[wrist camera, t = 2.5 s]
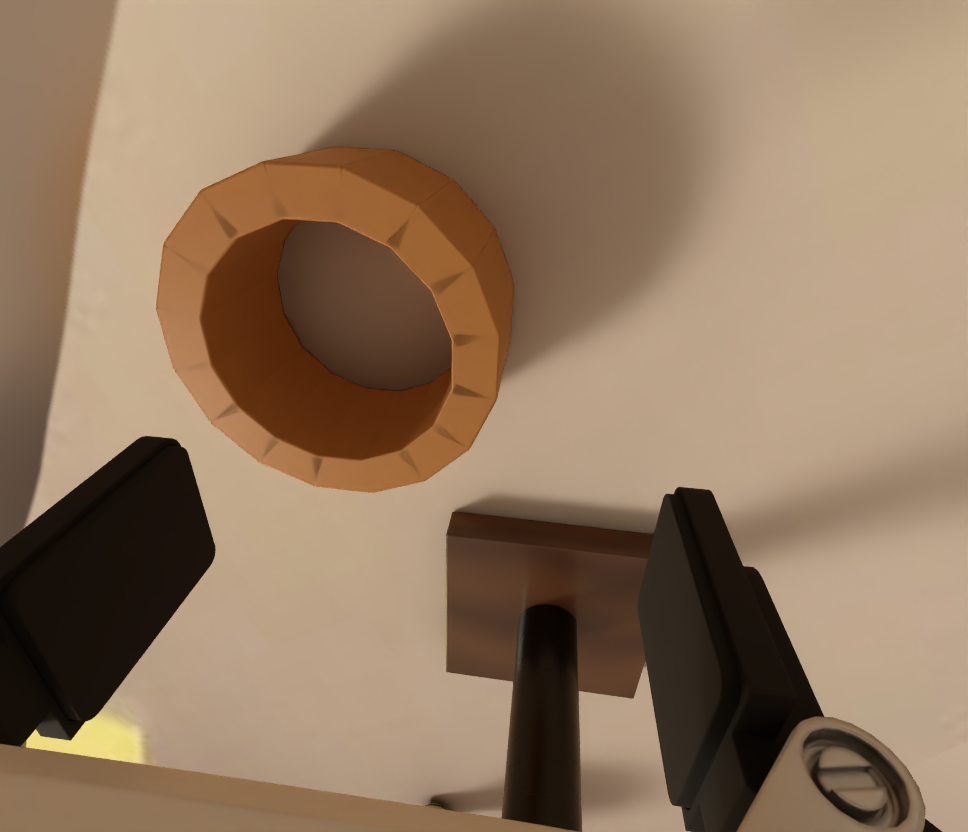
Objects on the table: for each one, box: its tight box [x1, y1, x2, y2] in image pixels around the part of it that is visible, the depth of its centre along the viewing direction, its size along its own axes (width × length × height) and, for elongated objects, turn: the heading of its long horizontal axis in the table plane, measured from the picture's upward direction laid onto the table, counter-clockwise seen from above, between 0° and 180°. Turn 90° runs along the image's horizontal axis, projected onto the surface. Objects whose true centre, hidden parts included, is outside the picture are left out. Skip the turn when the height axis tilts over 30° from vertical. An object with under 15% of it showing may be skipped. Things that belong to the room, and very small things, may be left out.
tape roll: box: [156, 147, 514, 493], centre depth 18 cm, size 10×10×5 cm
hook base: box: [446, 512, 654, 698], centre depth 27 cm, size 10×10×2 cm
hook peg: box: [502, 604, 582, 832], centre depth 20 cm, size 3×3×13 cm
